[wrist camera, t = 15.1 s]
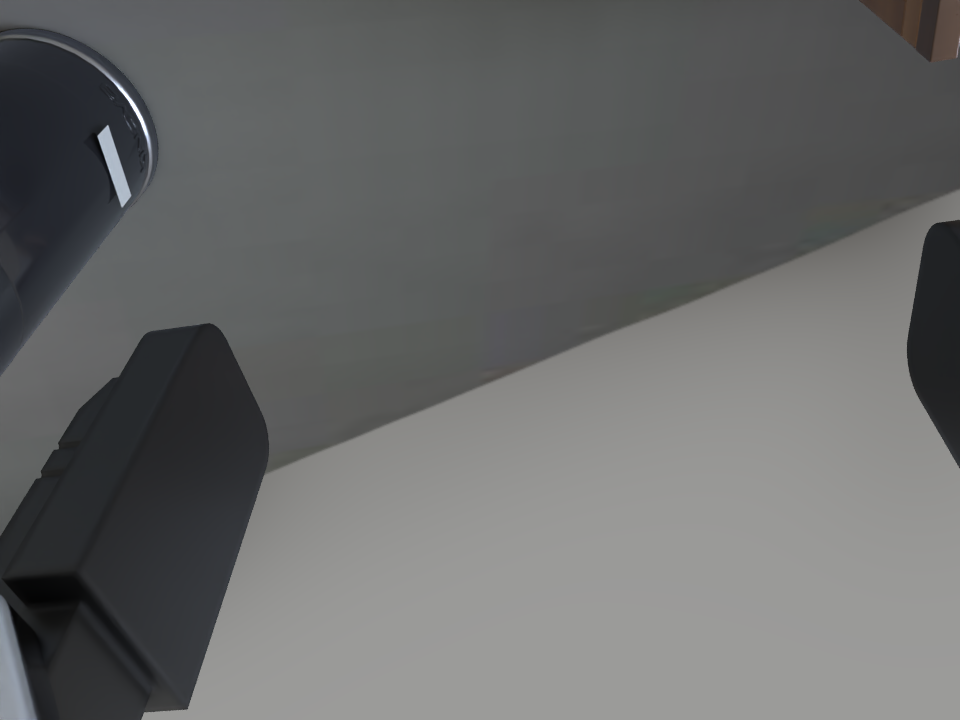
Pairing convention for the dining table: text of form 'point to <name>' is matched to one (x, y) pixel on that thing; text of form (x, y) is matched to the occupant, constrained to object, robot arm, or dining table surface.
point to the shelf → (923, 24)
